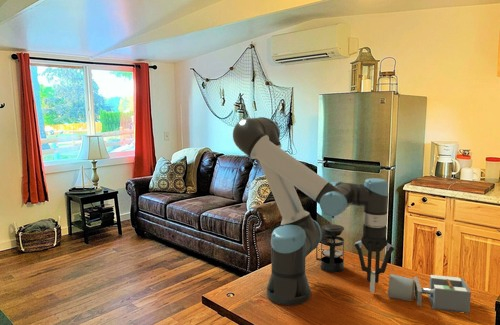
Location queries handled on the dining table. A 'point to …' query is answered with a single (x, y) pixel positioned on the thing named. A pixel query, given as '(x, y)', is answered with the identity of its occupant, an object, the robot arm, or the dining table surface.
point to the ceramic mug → (401, 288)
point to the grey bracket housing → (449, 294)
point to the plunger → (424, 290)
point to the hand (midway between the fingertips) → (372, 290)
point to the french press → (332, 249)
